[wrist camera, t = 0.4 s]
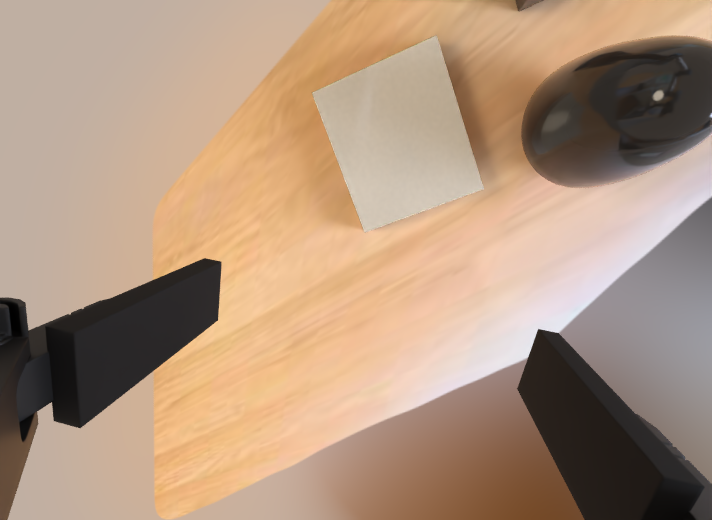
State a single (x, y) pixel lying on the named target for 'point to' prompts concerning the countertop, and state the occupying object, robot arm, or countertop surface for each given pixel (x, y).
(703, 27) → the countertop surface
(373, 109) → the tile
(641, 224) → the countertop surface
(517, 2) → the brown peg on base
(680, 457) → the robot arm
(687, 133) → the black pear
